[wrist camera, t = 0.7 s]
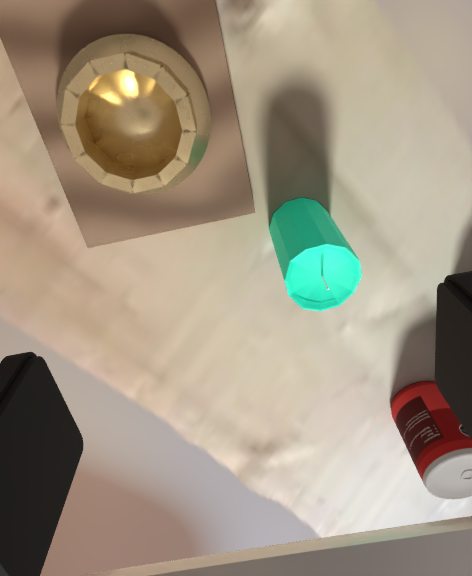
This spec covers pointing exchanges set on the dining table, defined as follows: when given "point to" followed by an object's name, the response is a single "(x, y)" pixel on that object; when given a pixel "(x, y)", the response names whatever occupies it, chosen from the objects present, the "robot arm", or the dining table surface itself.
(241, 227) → the dining table surface
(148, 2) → the walnut board
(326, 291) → the candle
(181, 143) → the candle holder
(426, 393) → the canned food
